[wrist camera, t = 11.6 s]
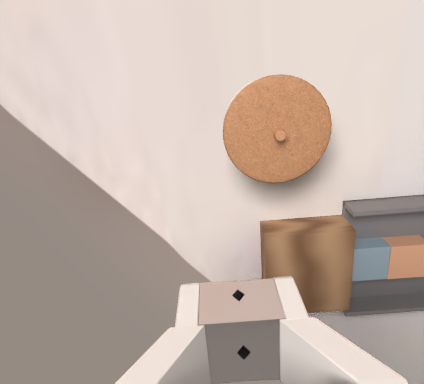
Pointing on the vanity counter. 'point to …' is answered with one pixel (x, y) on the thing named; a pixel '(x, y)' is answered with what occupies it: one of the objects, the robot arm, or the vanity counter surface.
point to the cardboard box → (311, 258)
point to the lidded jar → (276, 128)
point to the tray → (386, 227)
